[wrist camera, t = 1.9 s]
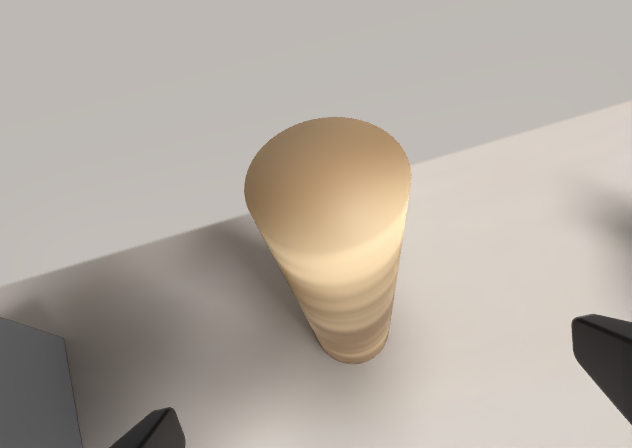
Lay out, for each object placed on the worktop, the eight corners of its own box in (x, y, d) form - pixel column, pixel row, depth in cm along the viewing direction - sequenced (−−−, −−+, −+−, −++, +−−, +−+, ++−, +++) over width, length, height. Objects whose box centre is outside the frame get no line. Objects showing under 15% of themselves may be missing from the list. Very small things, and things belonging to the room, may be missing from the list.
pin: (404, 336, 19) (449, 187, 8) (341, 379, 18) (294, 284, 7) (360, 278, 21) (347, 96, 10) (303, 315, 20) (219, 164, 9)
